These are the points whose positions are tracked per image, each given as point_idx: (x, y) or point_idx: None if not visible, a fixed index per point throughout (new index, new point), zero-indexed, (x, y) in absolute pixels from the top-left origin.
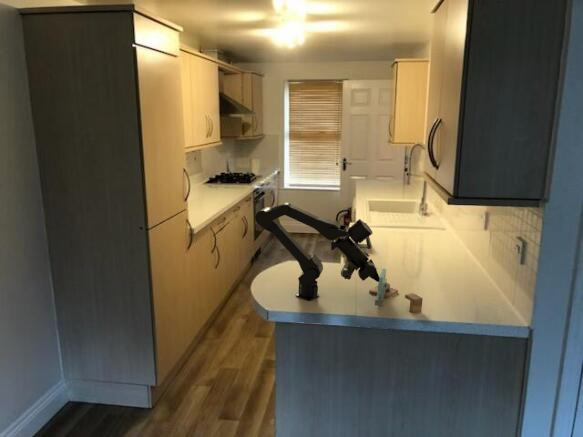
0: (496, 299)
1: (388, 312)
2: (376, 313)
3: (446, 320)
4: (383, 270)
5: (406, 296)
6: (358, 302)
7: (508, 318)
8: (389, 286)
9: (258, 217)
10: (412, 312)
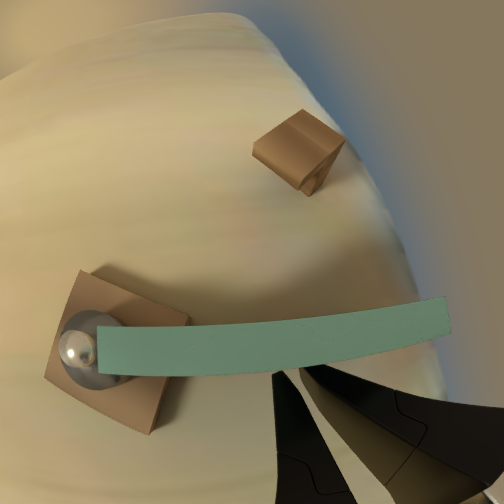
0: (105, 39)
1: (367, 281)
2: None
3: (309, 96)
4: (173, 356)
5: (309, 176)
6: None
7: (216, 20)
8: (102, 312)
9: None
10: (321, 182)
